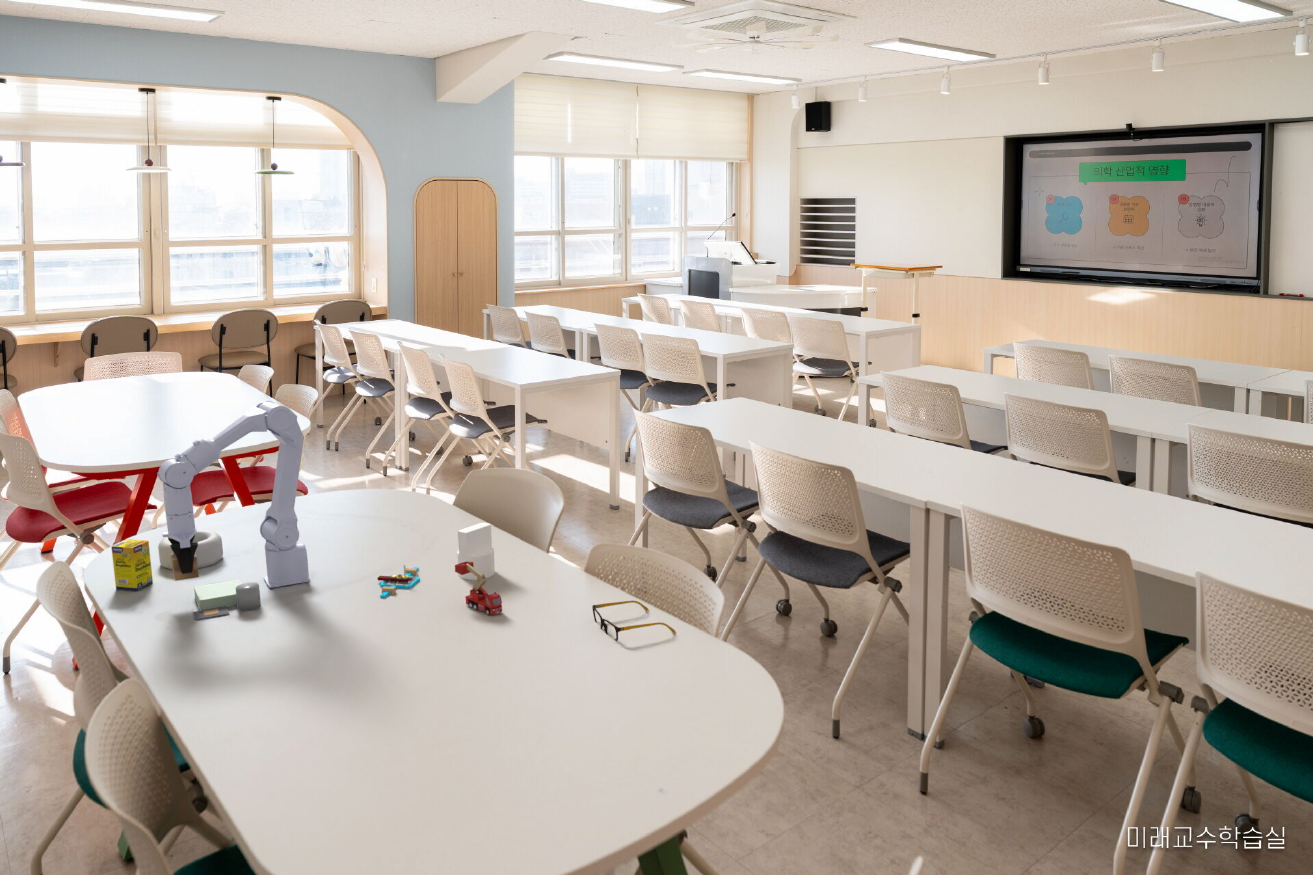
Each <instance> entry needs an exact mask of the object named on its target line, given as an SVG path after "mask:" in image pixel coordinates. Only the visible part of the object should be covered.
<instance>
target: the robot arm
mask: <svg viewBox="0 0 1313 875" xmlns="http://www.w3.org/2000/svg"><path fill="white" fill-rule="evenodd" d="M268 431H269V432H270V433H271V434H272V435H273V436H274V438H276V440H278V443H279V446H278V453H277V460H276V466H275V476H274V481H273V482H274V483H273V489H272V495H271V496H272V498H271V503H270V504H271V505H270V506H269V507H268V508H267V510H266V511H265V516H264V519H263V520H262V522H261V523H260V526H259V533H260V536H261V537H262V539H264V540H265V544H264V552H265V554H264V555H265V563H266V572H267V573H266V576H264V577H263V579H264V582H265V583H266V585H267V587H268V588H269V589H271V588H272V589H273V588H278V587H284V586H291V585H297V584H304V583H307V582H308V583H309V582H310V573H309V562H308V561H309V560H308V552H307V548H306V544H305V543H304V542H299V543H298V541H299V538H300V531H299V528H298V522H299V521H298V516H297V514H296V511H295V506H296V505H295V504H296V497H297V489H298V482H299V476H300V470H301V469H300V468H301V461H302V456H303V447H304V441H305V440H304V434H303V431H302V430H301V427H300V424H299V421H298V415H297V414H295V412H293V410H291V409H290V408H289V407H287V406H285V405H281V404H278V403H275V402H274V401H271V400H263V401H261V402H259V403H258V404H257V405H256V406H252V407H251V408H249V409H248V410H247V411H246V412H245V413H244V414H242V415H241V416H240V417H239V418H238V419H236V420H234V422H231V424H230V425H228V426H227V427H225V428H224V429H223V430H222V431H220V432H219V433H218V434H216V435H215V436H214V437H213V438H211V439H207V438H201V439H200V440H199V439H196V440H194V441H193V442H192V444H193V445H191V446H190V447H188V448H187V449H186V450H184V451H182V452H181V453H176V454H175V455H174V459H173V458H171V459H167V460H165V461H163V462H162V463H161V465H160V467H159V469H158V472H157V477H158V478H159V480H160V482H162V488H163V489H162V490H163V502H164V510H165V518H166V520H165V521H166V526H167V527H166V528H167V531H163V532H162V533H161V535H162V538H166V537H168V540H169V541H170V543H171V544H172V545H170V547H171V549H172V551H173V552H174V553H175V555H176V557H177V559H178V562H179V566H180V569H181V572H182V574H185V573H192V571H193V562H194V555H195V552H196V549H197V547H198V542H195V543H193V540H194V537H195V534H196V532H197V531H196V530H197V528H196V523H195V514H194V505H193V503H194V502H193V496H192V494H193V493H192V490H191V483H192V482H193V479H194V476H196V475H198V474H199V473H201V472H202V471H204V470H206V468H208V467H209V466H211V465H212V464H214V462H216V461H218V460H219V459H220V456H221V452H222V451H223V450H224V449H226V448H228V447H229V446H231V445H233V444H234V443H236V442H237V441H239V440H241V439H242V438H244V437H246V436H247V435H248V434H251V433H256V432H258V433H259V432H260V433H265V432H268Z"/></svg>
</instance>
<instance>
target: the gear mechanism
mask: <svg viewBox="0 0 1313 875" xmlns="http://www.w3.org/2000/svg"><path fill="white" fill-rule="evenodd" d="M419 570H420V568H419V567H418V566H417V567H416V566H414V567H413V568H410V567H409V568H406V564H403V574H398V575H397V574H393V575H379V576H377V581H380V584H379V587H380V588H381V594H380V595H379V598H380V599H386V598H387V597H388V596H390V595H394V594H395V593H396V590H397V589H403V590H404V589H405V590H410V589H412V588H413V587H414V586H415V585H416V584H417V583H419V582H420V581H421V578H420V577H419V576H416V575H417V574H418V571H419ZM381 581H382V582H381ZM409 581H410V582H409Z"/></svg>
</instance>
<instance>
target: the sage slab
mask: <svg viewBox="0 0 1313 875" xmlns="http://www.w3.org/2000/svg"><path fill="white" fill-rule="evenodd" d="M240 584H242V582H241V580H240V579H234V580H228V581H221V582H216V583H210V584H204V585H198V586H193V592H194V598H195V601H196V603H197V606H198V608H199V611H201V610H207V609H212V608H218V607H224V606H227V607H231V606H237V598H236V587H237V586H238V585H240Z"/></svg>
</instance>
